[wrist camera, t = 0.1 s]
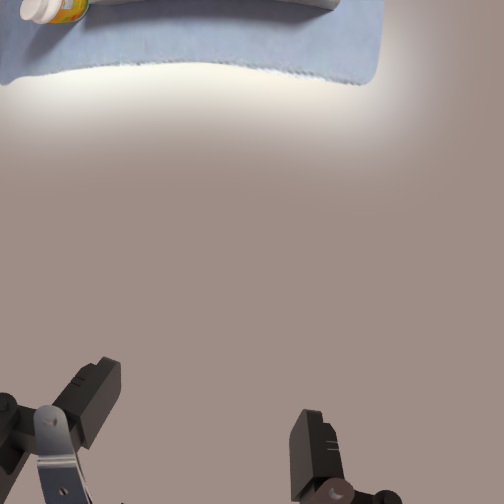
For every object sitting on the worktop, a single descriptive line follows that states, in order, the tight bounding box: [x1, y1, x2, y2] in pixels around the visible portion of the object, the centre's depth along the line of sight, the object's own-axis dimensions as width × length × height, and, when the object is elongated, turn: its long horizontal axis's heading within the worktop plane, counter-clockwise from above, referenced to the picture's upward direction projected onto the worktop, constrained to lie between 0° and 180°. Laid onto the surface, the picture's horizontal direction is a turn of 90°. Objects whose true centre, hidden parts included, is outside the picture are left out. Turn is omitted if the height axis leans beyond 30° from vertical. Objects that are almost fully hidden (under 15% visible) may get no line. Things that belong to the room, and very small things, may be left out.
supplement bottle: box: [20, 0, 90, 24], centre depth 21 cm, size 5×5×10 cm
